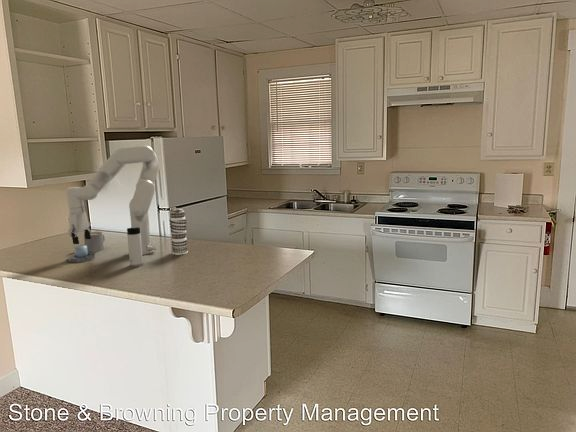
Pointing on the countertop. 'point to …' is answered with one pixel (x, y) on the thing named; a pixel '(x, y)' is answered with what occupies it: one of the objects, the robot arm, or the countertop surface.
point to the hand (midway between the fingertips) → (82, 241)
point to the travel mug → (135, 247)
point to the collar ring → (81, 258)
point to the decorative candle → (178, 231)
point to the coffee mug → (95, 242)
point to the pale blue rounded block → (81, 251)
